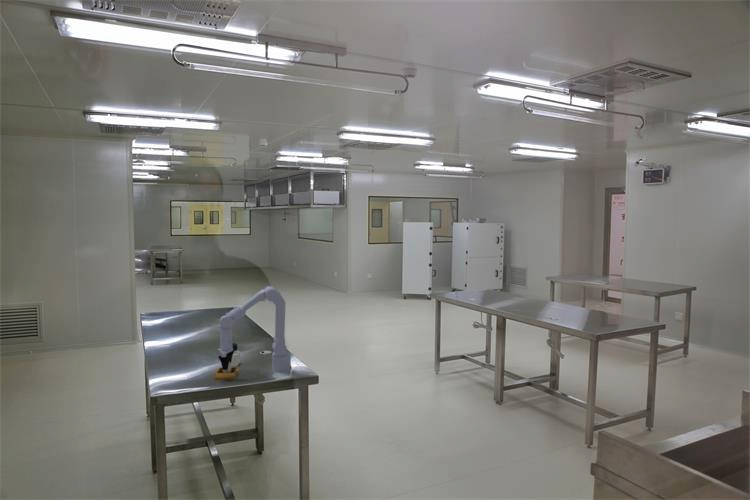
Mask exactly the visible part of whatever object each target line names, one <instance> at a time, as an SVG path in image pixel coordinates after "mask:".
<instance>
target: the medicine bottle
mask: <svg viewBox="0 0 750 500" xmlns="http://www.w3.org/2000/svg"><path fill="white" fill-rule="evenodd" d="M232 343H233V350H234V353H233V356H232V361H231V367H239V364H240V363H241V361H240V360H241V355H240V354H241V352H240V351H239V350H238V344H237V343H235V342H232Z"/></svg>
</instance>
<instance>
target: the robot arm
mask: <svg viewBox="0 0 750 500" xmlns="http://www.w3.org/2000/svg"><path fill="white" fill-rule="evenodd" d="M266 300H267V301H269V302H271V303H273V304H274V305H275V321H274V335H273V336H274V337H273V342H272V344H271V348H272V350H273V352H272V354H271V361H272V363H271V364H272V365H271V366H272V367H271V368H272V370H271V371H272V372H273V373H285V372H286V373H287V372H288V373H290V372H291V370H292V363H291V360H292V359H291V354H289V353H288V354H287V351H288V348H287V346H286V339H285V338H286V337H285V329H286V301H285V299H284V297H283V296H282V295H281V293H280V291H278V290H277V289H276V288H275V287H273V286H271V285H267V286H265V287H264V288H262V289H260V290H259V291H258V292H256V293H255V294H254V295H253V296H251V298H249V299H248V300H247V301H246V302H245V303H243V304H242V305H235V306H233V309H231V310H230V311H229V312H226V313H225V315H222V316H221V317H220V319H219V326H220V327H219V328H220V329H219V343H220V345H219V347H220V348H218V349H217V352H220V353H221V355H218V360H219V362H220V365H221V368H223V370H228V365H229V362H231V361H232V356H233V353H234V350H233V343H234V342H233V328H232V327H233V324H234V323H236V322H237V321H239V320H240V319H242V318H243V317H244V316H246V313H247V311H248V310H249V309H251V308H252V307H253V306H255V305H256V304H258V303H259V302H266Z"/></svg>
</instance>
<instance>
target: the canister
mask: <svg viewBox="0 0 750 500" xmlns="http://www.w3.org/2000/svg"><path fill="white" fill-rule="evenodd" d="M231 367H232V366H231V362H229V365H228V370H223V373H231Z"/></svg>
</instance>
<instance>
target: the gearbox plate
mask: <svg viewBox="0 0 750 500" xmlns="http://www.w3.org/2000/svg"><path fill="white" fill-rule="evenodd" d="M260 371H261V370H260V369H257V370H255V369H254V370H239V366H231V373H223V368H222V367H218V368H217V369H216V371H215V372H214V379H213V381H227V380H230V381H231V380H235V381H236V380H256V379H257V378H258V376H259V373H260Z"/></svg>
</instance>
